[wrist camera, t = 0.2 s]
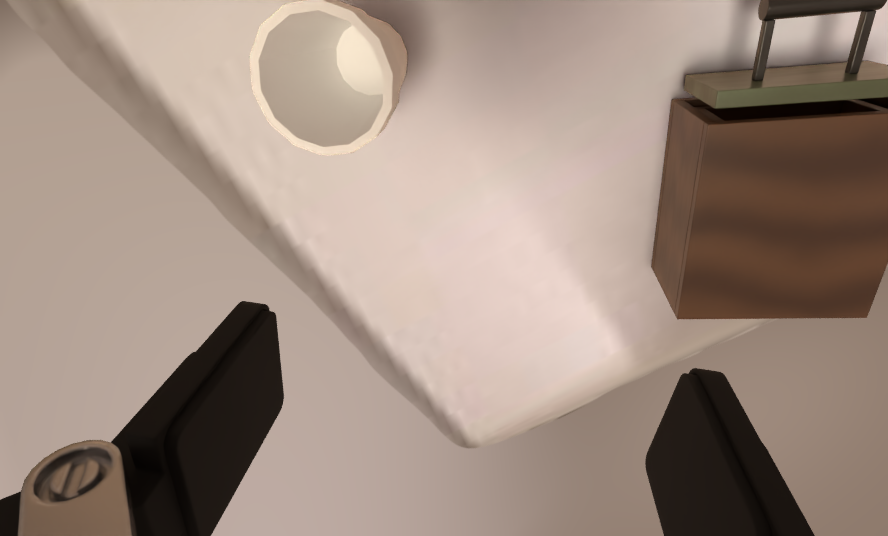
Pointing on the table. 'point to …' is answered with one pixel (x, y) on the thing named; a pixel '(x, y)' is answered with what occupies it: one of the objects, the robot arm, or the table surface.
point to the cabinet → (773, 214)
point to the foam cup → (327, 74)
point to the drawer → (796, 73)
